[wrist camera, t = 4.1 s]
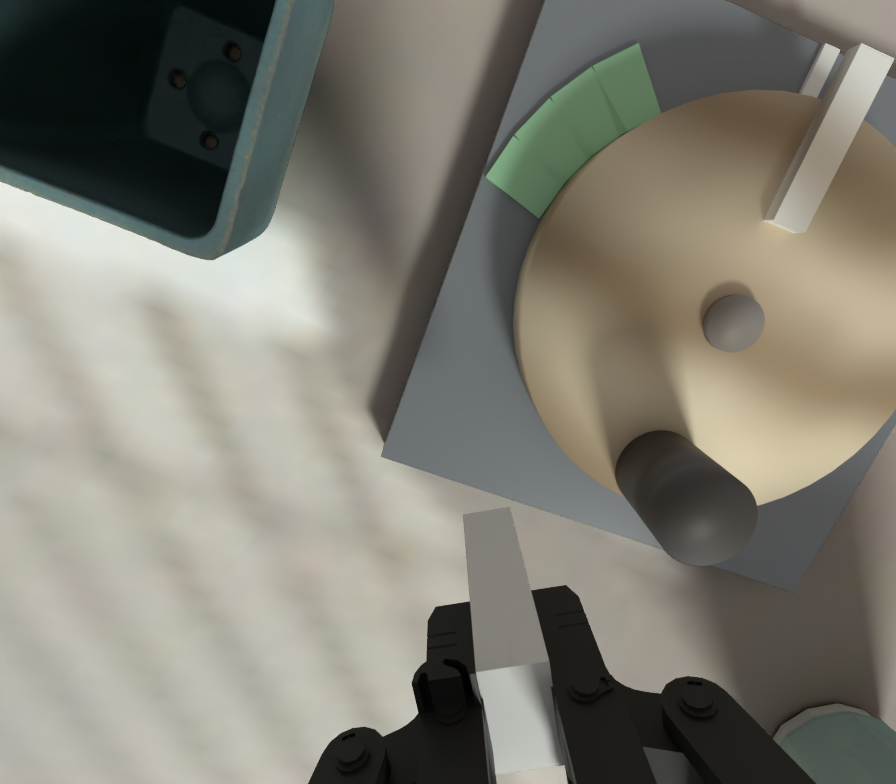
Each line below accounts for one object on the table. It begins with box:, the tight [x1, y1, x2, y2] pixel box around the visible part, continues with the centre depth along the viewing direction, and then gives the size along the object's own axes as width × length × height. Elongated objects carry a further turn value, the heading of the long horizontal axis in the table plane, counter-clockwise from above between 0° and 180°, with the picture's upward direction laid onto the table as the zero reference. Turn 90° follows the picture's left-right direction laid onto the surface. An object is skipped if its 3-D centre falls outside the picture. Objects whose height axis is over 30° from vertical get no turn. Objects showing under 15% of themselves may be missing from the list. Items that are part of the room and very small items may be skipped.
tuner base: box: [381, 0, 896, 592], centre depth 22 cm, size 20×20×2 cm
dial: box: [513, 43, 896, 566], centre depth 18 cm, size 17×15×6 cm
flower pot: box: [0, 0, 334, 260], centre depth 16 cm, size 9×9×9 cm
